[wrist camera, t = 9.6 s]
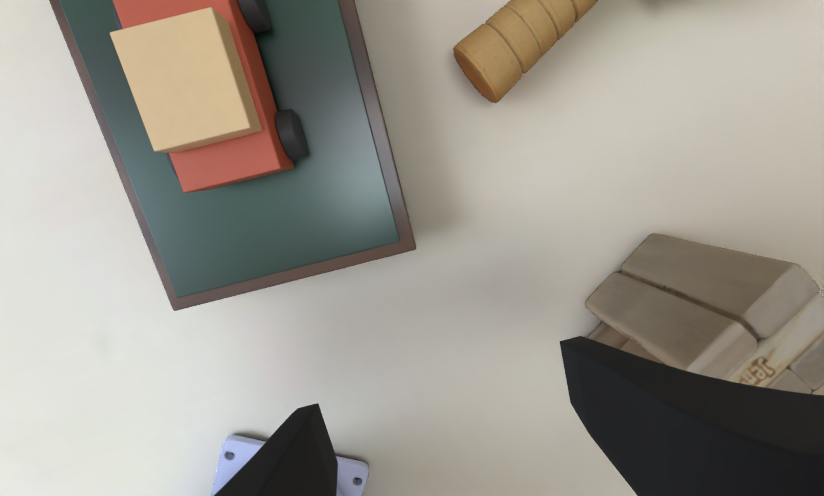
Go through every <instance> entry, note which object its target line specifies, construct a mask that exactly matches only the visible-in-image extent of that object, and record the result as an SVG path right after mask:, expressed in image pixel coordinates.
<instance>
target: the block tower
mask: <svg viewBox="0 0 824 496" xmlns="http://www.w3.org/2000/svg"><path fill="white" fill-rule="evenodd" d="M819 290H820V288H819V286H818V285H817V283H816V282H815V281H814V280H813V279H812V277H811V276H810V275H809V274H808V273H807V272H806V271H805V270H804V269H803V268H802V267H801V266H800V265H797V264H795V263H791V262H786V261H781V260H776V259H771V258H766V257H762V256H757V255H753V254H748V253H743V252H739V251H734V250H729V249H724V248H719V247H715V246H710V245H705V244H700V243H696V242H691V241H687V240H682V239H678V238H673V237H668V236H664V235H658V234H651V235H650V236H649V237H648V238H647V239H646V240H645V241H644V242H643V243H642V244H641V245H640V246H639V247H638V248H637V249H636V250H635V251H634V252H633V253H632V255H631V256H630V257H629V258H628V259H627V260H626V261H625V262H624V263H623V265H622V271H621V273H619V272H613V273H612V274H611V275H610V276H609V277H608V278H607V279H606V280H605V281H604V282H603V283H602V284H601V285H600V287H599V288H598V289H597V290H596V291H595V292H594V293H593V294H592V295H591V296H590V297H589V298H588V300H587V301H586V307H587V308H588V309H589V310H590V311H591V312H592V313H593V314H595V315H596V316H597V317H598V318H599V319H600V320H602V321H603V322H602V323H601V324H600V325H599V326H598V327H597V328H596V329H595V330H594V331H593V332H592V333H591V334H590V335H589V336H588V337H587V338H589V339H592V340H595V341H598V342H600V343H603V344H606V345H609V346H612V347H614V348H617V349H620V350H623V351H625V352H628V353H631V354H634V355H637V356H640V357H643V358H646V359H649V360H652V361H655V362H658V363H661V364H665V365H668V366H671V367H675V368H678V369H682V370H685V371H689V372H693V373H696V374H700V375H705V376H709V377H713V378H718V379H722V380H727V381H731V382H736V383H742V384H747V385H752V386H758V387H765V388H771V389H778V390H784V391H791V392H799V393H807V394H815V395H824V297H823V296H822V295H820V294H819V293H818V292H819Z"/></svg>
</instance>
